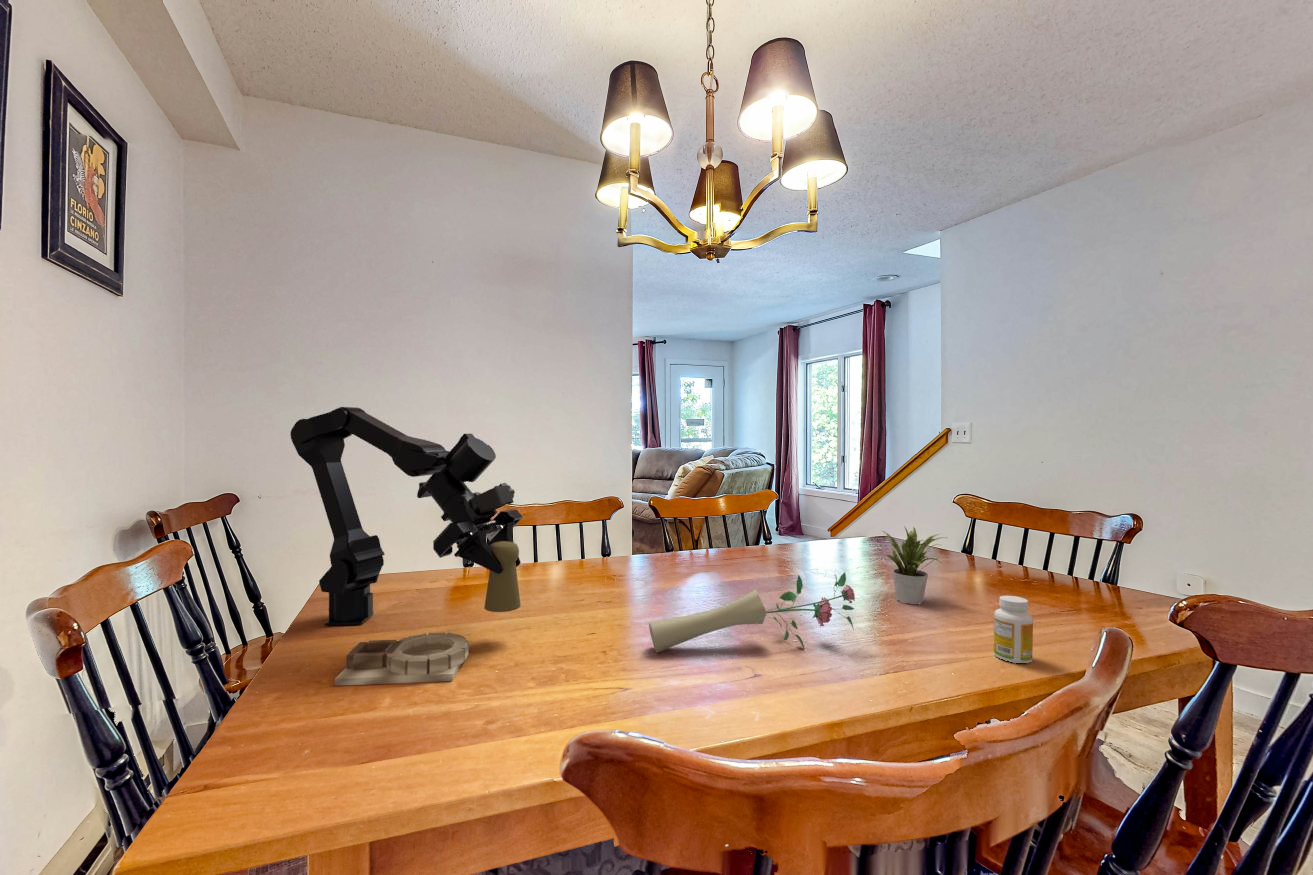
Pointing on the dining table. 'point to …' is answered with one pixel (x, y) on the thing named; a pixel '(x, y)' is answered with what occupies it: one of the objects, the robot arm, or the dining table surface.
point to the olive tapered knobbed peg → (503, 580)
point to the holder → (405, 660)
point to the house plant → (910, 567)
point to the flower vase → (739, 616)
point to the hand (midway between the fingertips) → (510, 568)
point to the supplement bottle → (1013, 630)
